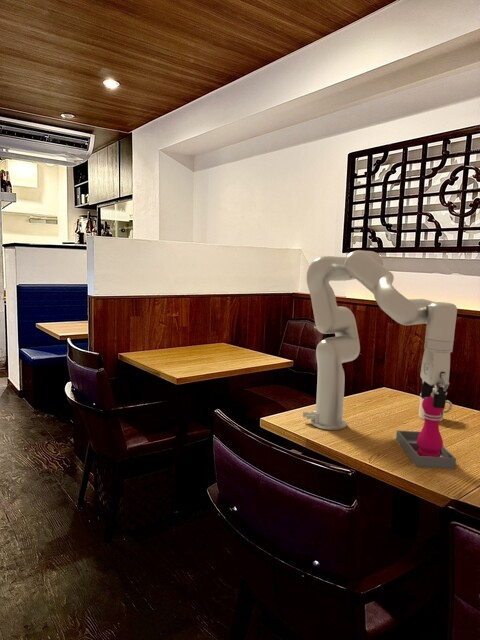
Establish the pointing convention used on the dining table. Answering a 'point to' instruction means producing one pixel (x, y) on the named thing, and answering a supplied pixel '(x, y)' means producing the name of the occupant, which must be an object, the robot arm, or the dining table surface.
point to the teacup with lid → (423, 409)
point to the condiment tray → (411, 448)
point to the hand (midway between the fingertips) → (432, 402)
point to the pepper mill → (430, 430)
